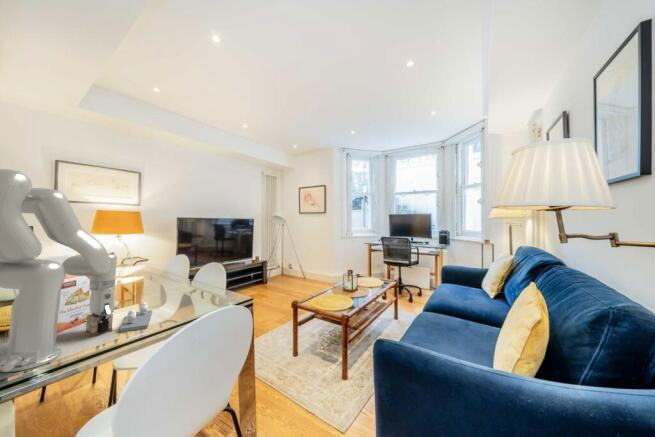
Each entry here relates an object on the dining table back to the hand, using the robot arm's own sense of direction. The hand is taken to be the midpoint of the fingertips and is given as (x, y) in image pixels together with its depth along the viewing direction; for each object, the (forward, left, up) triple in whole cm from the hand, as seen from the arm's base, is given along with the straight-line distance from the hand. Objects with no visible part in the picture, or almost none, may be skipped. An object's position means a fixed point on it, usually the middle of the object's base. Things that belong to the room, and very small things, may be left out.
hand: (99, 329), depth 96 cm
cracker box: (+13, +12, -1) cm, 18 cm away
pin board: (+6, -11, -1) cm, 13 cm away
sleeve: (0, 0, -1) cm, 1 cm away
